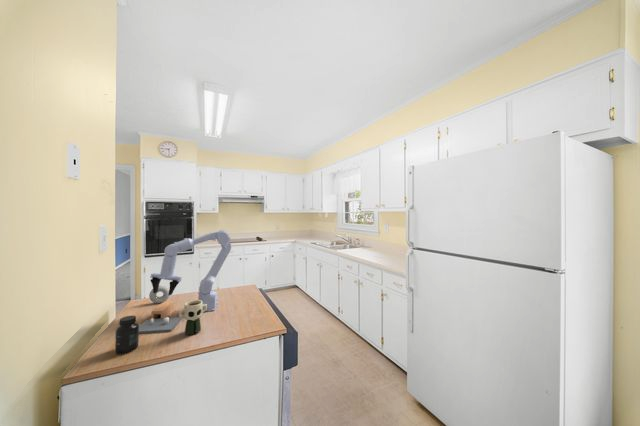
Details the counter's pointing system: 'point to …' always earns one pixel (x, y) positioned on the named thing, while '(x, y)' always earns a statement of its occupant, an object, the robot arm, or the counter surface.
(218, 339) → the counter surface
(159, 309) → the rectangular block
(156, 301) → the donut
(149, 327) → the post board
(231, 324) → the counter surface
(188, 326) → the character mug
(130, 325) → the supplement bottle
